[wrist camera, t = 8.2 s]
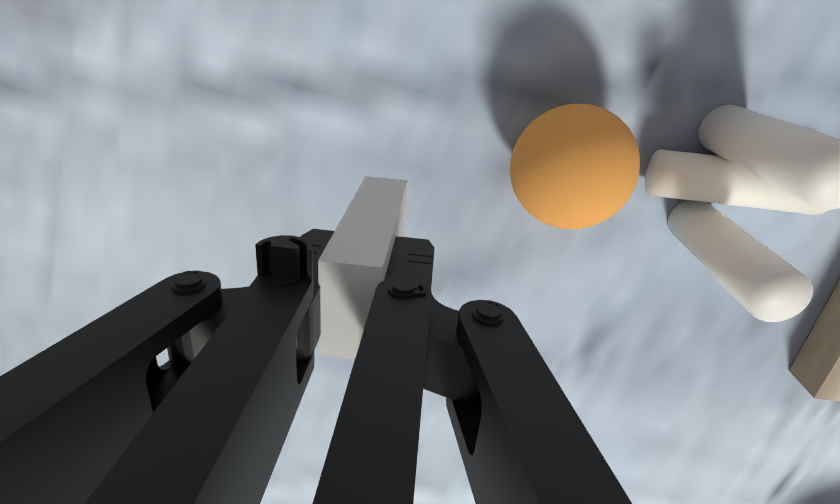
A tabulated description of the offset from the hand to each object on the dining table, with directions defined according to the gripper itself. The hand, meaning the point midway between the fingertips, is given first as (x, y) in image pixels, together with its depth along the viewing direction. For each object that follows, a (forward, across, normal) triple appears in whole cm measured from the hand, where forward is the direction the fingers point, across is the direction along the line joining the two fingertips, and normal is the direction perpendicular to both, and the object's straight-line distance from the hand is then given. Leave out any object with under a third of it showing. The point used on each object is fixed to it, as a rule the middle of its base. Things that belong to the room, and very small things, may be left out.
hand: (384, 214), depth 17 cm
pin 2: (+10, +16, -2) cm, 19 cm away
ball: (+7, +8, +1) cm, 11 cm away
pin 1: (+10, +16, +3) cm, 19 cm away
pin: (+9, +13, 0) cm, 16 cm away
